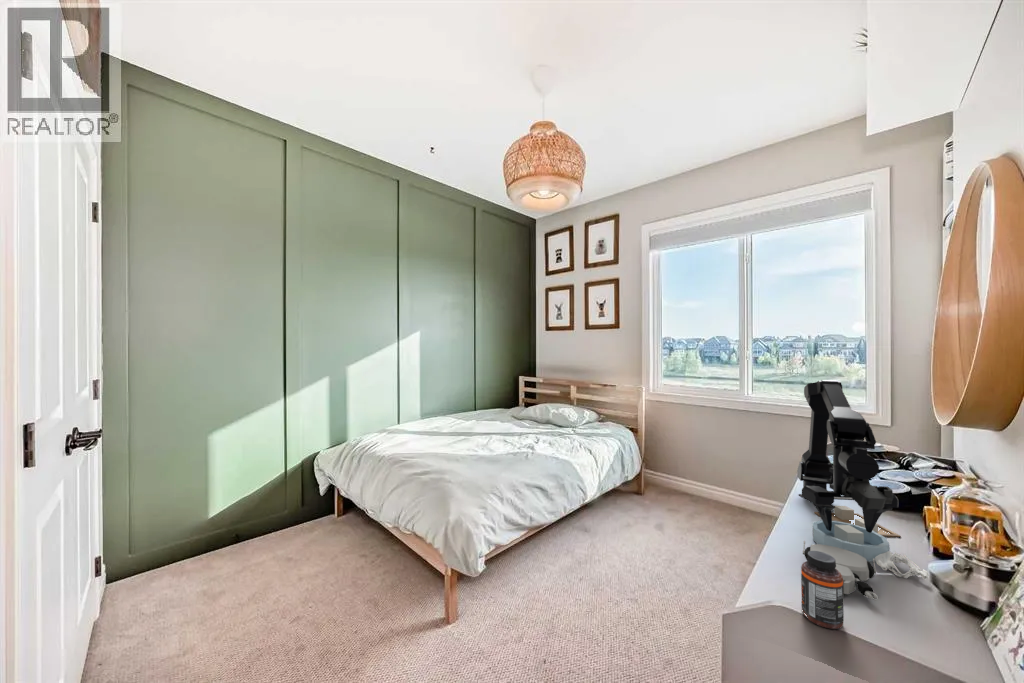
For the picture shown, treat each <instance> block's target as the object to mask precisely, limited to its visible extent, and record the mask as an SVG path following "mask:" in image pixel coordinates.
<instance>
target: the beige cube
mask: <svg viewBox="0 0 1024 683" xmlns="http://www.w3.org/2000/svg"><path fill="white" fill-rule="evenodd" d="M834 534H835V538H837V539H840V540H843V541H847V542H851V543H856V544H860V545H864V533H862V532H861V531H859V530H857V529H855V528H854V527H852V526H850V525H834Z"/></svg>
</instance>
